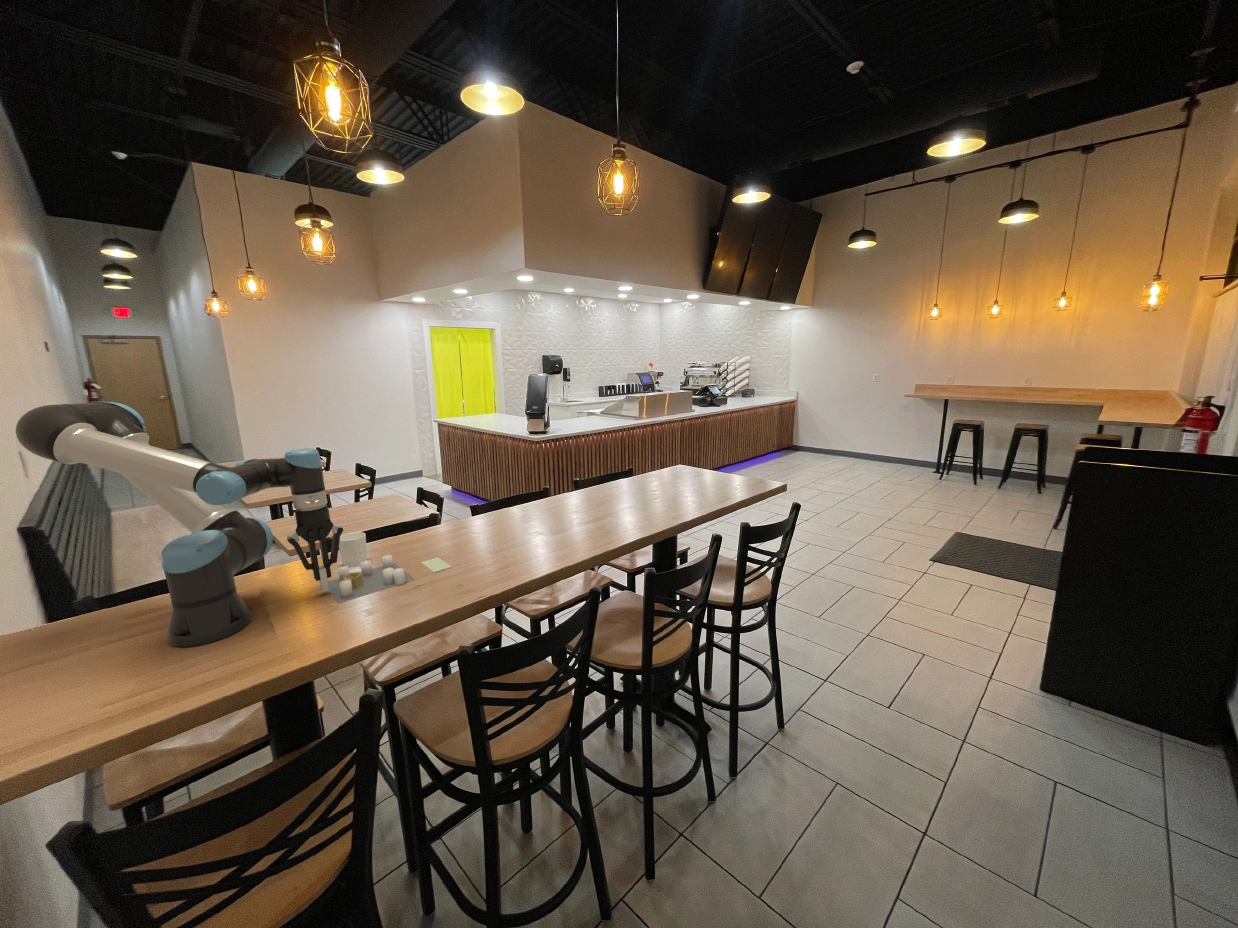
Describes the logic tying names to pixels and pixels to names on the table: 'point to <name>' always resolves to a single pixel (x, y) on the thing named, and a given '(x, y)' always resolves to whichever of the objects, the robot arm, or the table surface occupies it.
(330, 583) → the spacer board
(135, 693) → the table surface
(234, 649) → the table surface
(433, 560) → the mat
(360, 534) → the white cup
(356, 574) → the nut
